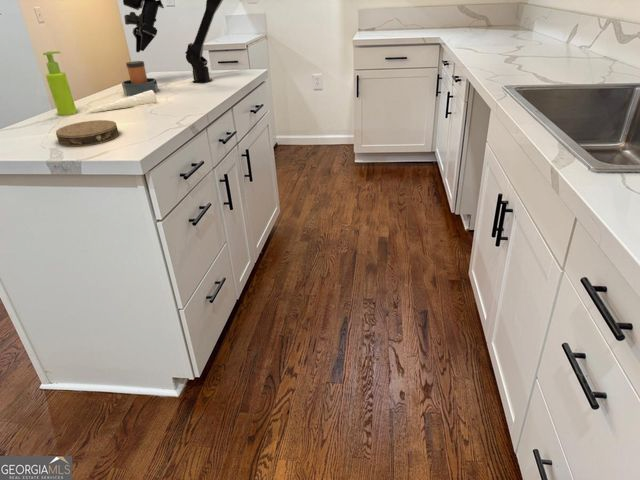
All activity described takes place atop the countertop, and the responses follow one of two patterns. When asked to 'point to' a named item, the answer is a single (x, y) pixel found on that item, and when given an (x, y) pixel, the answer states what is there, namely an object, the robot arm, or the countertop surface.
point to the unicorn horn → (129, 101)
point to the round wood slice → (87, 133)
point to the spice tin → (137, 72)
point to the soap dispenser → (59, 87)
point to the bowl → (139, 87)
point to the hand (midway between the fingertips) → (139, 51)
